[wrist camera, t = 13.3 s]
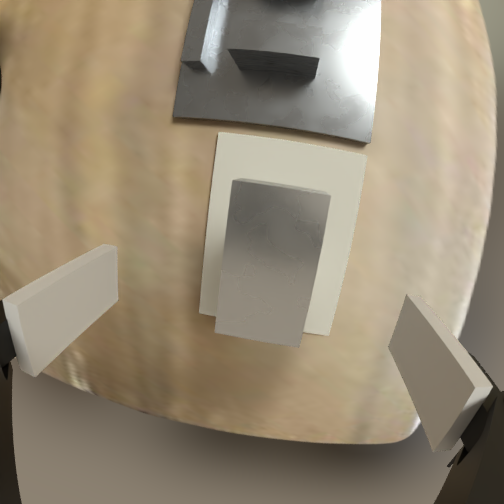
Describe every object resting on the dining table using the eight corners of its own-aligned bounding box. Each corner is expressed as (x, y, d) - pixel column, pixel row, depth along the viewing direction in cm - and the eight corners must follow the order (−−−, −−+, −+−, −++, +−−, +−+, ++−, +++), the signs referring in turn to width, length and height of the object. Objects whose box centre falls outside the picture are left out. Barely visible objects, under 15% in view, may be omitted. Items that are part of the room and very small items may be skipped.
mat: (200, 310, 29) (199, 313, 28) (220, 132, 25) (218, 131, 24) (328, 332, 28) (328, 335, 27) (365, 155, 24) (367, 155, 23)
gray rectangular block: (250, 258, 26) (214, 332, 14) (262, 174, 24) (232, 179, 12) (297, 266, 26) (299, 347, 14) (312, 182, 24) (331, 195, 12)
